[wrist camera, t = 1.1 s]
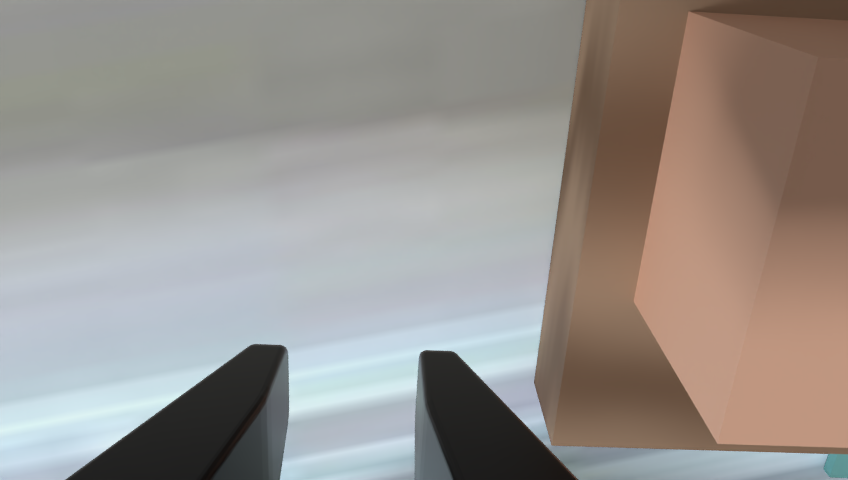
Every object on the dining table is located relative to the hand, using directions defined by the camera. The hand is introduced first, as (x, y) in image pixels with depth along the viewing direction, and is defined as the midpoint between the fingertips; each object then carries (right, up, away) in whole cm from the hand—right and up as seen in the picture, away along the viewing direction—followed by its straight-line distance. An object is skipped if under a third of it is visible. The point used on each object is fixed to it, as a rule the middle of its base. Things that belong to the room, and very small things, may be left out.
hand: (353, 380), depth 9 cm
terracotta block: (+9, +3, +9) cm, 13 cm away
